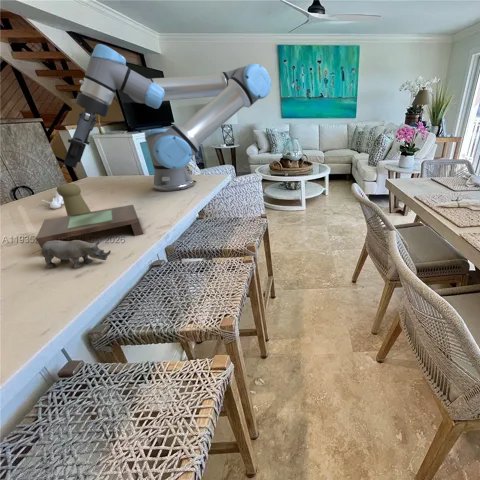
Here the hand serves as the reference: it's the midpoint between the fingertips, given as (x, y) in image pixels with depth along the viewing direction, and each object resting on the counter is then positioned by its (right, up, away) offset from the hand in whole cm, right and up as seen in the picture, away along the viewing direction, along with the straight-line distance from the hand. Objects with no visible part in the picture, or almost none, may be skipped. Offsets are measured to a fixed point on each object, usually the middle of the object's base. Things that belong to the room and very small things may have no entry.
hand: (72, 163), depth 83 cm
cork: (+4, -18, -1) cm, 18 cm away
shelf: (+17, -23, -11) cm, 30 cm away
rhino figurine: (+25, -30, -24) cm, 46 cm away
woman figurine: (-16, -10, +14) cm, 24 cm away
